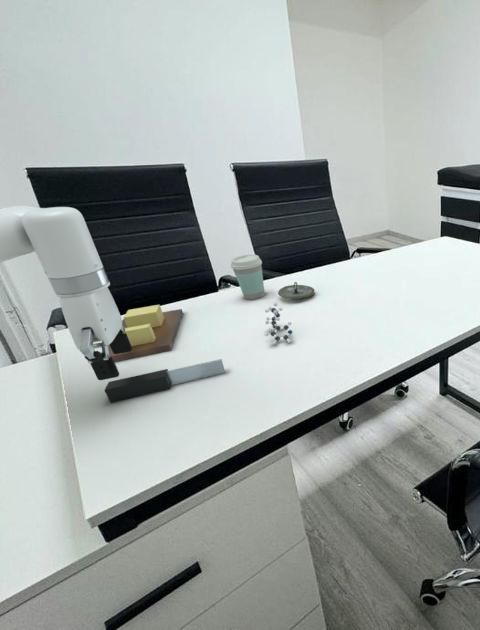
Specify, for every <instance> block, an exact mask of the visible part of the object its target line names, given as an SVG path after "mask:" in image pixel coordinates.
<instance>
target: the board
mask: <svg viewBox="0 0 480 630" xmlns="http://www.w3.org/2000/svg"><path fill="white" fill-rule="evenodd" d="M162 313H163V315H164V321H163V323H162V325H161V326H158V327H152V329H153V332H154V335H155V337H156V339H155V341H154V342H151V343H146V344H141V345H136V346H132V351H130V352H125V353H119V354H114V353H113V352H112V349H111V347H110V345H108V350H109V357H112V358H113V360H114V362H115V363H117V362H121V361H125V360H129V359H135V358H140V357H144V356H149V355H154V354H159V353H164V352H168V351H172V349H173V345H174V343H175V340H176V337H177V335H178V331H179V328H180V325H181V322H182V320H183V319H182V318H183V316H184V311H183V309H182V308H178V309H174V310H168V311H162ZM122 326H123V327H124V328H128V327H127V325H126V323H125V320H124V318H123V319H122Z"/></svg>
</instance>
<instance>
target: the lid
mask: <svg viewBox="0 0 480 630" xmlns="http://www.w3.org/2000/svg"><path fill="white" fill-rule="evenodd" d="M277 294H278V296H279V297H282V298H284V299H288V300H302V299H307V298H310V297H313V296H314V295H315V289H314V287H312V286H310V285H304V284H298V282H297V281H294V283H293V284H291V285H287V286H283V287H281V288H280V289H278V291H277Z"/></svg>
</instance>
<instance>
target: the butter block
mask: <svg viewBox="0 0 480 630" xmlns="http://www.w3.org/2000/svg"><path fill="white" fill-rule="evenodd" d="M162 312H163V311H162V308H161V305H160V304H154V305H149V306H143V307H137V308H132V309H128V310H126V313H125V314H124V316H123V319H124V320H125V323H126V325H127V327H128V328H129V327H135V326H140V325H145V324H151V327H158V326H161V325H162V323H163V321H164V315H163V313H162Z"/></svg>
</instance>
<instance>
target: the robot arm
mask: <svg viewBox="0 0 480 630" xmlns="http://www.w3.org/2000/svg"><path fill="white" fill-rule="evenodd" d="M87 225H88V224H87V223H86V221H85V218H84V216H83V214H82V212H80V211H79V210H78V209H77V208H74V207H70V206H54V207H53V206H52V207H38V206H37V207H36V206H30V205H13V206H7V207H2V208H0V263H3V262H6V261H9V260H13V259H15V258H19V257H21V256H25V255H28V254H32V253H35V254H36V256H37V258H38V261H39V263H40V264H41V267H42V269H43V271H44V273H45V275H46V277H47V279H48V282H49V284H50V286H51V288H52V290H53V292H54V294H55V297H58V298H59V303H60V308H61V311H62V314H63V317H64V320H65V324H66V326H67V329H68V331H69V333H70V337H71V338H72V340H73V343H74V345H75V348H76V349H77V350H79V352H80V353H81V354H82V355H83V356H84V359H85V360H87V363H88V364H90V367H91V368H92V370H93V373H94V375H95V376H96V379H97V380H98V381H105V380H110V379H115V378H118V377H120V372H119V369H118V367H117V364H116V362H114V360H113V358H112V357H109V350H108V345H110V347H111V349H112V352H113V353H114V354H119V353H125V352H130V351H132V346H131V344H130V341H129V339H128V336H127V334H126V333H125V328H124V327H123V326H122V320H123V319H122V316H121V313H120V310H119V308H118V306H117V304H116V301H115V299H114V297H113V295H112V293H111V291H110V289H109V288H108V287H110V286H111V282H110V280H109V278H108V275H107V273H106V270H105V267H104V265H103V263H102V260H101V258H100V255H99V253H98V250H97V248H96V245H95V243H94V240H93V237H92V235H91V233H90V231H89V228H88V226H87ZM97 349H101V352H100V350H97Z"/></svg>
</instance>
